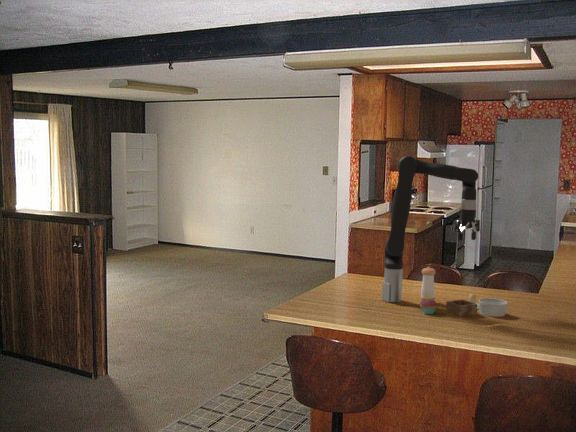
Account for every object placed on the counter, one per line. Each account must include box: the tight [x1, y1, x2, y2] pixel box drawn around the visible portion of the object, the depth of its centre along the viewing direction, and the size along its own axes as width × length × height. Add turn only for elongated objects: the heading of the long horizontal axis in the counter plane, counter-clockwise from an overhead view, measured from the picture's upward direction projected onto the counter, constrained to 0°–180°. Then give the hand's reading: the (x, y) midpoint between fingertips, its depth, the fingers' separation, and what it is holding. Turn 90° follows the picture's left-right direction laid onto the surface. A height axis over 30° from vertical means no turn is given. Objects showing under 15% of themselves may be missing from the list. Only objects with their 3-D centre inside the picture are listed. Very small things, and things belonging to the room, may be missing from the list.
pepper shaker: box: [419, 266, 437, 304], centre depth 311 cm, size 7×7×19 cm
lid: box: [468, 293, 479, 310], centre depth 304 cm, size 10×10×6 cm
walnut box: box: [445, 298, 478, 318], centre depth 291 cm, size 10×10×6 cm
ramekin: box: [478, 297, 509, 318], centre depth 292 cm, size 13×13×7 cm
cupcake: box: [419, 291, 439, 315], centre depth 291 cm, size 9×8×12 cm
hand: (466, 240), depth 309 cm, fingers open, 8 cm apart
